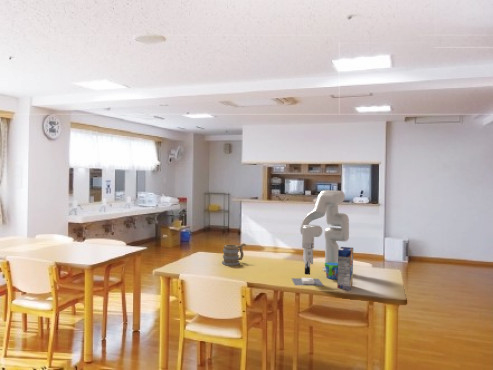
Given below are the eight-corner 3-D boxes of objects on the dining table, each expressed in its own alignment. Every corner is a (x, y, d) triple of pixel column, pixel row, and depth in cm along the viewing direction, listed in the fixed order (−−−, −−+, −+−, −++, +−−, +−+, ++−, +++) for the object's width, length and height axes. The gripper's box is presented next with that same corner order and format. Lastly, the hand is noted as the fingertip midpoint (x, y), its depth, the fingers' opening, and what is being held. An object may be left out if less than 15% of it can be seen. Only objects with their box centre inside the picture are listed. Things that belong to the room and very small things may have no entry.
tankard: (227, 266, 299) (227, 246, 299) (219, 262, 310) (220, 243, 310) (250, 263, 309) (250, 244, 309) (242, 260, 320) (242, 242, 320)
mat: (318, 279, 264) (318, 278, 264) (323, 286, 247) (323, 285, 247) (291, 279, 264) (291, 278, 264) (294, 286, 247) (294, 285, 247)
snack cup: (328, 275, 277) (328, 260, 277) (343, 277, 272) (343, 262, 272) (321, 280, 264) (321, 264, 263) (336, 282, 259) (337, 266, 258)
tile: (312, 277, 258) (314, 281, 250) (312, 281, 258) (314, 284, 250) (301, 277, 257) (303, 280, 249) (301, 281, 257) (303, 284, 249)
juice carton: (340, 284, 254) (341, 246, 254) (352, 285, 251) (353, 247, 251) (337, 288, 243) (338, 249, 242) (349, 290, 240) (350, 250, 240)
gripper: (316, 247, 248) (315, 277, 248) (311, 243, 263) (311, 271, 263) (304, 247, 248) (303, 277, 248) (300, 243, 263) (299, 271, 263)
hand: (307, 274), depth 256 cm, fingers closed
